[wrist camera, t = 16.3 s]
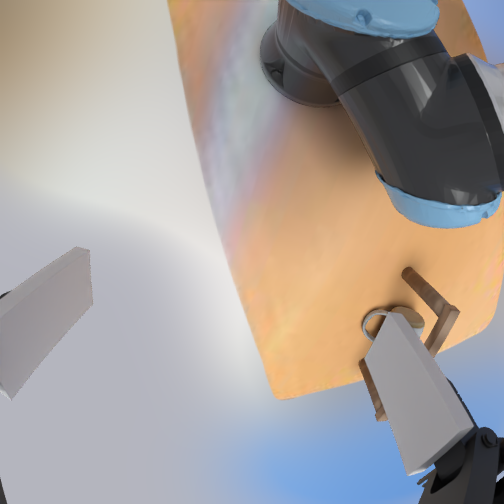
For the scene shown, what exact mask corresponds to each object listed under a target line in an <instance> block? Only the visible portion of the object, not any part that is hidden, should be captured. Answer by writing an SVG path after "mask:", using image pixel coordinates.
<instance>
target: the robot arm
mask: <svg viewBox="0 0 504 504" xmlns="http://www.w3.org/2000/svg"><path fill="white" fill-rule="evenodd" d="M437 4H438V0H279V3H278V14H277V21H276V22H274V23H273V24H272V25H271V26H270V27H269V28H268V30H267V31H266V33H265V35H264V37H263V39H262V42H261V47H260V60H261V65H262V69H263V71H264V74H265V76H266V77H267V79H268V81H269V82H270V83H271V84H272V86H273V87H274V88H275V89H276V90H277V91H279V92H280V93H281V94H282V95H284V96H285V97H287V98H289V99H291V100H293V101H295V102H297V103H300V104H303V105H307V106H312V107H330V106H335V105H338V104H342V106H343V107H344V109H345V111H346V112H347V114H348V116H349V118H350V120H351V121H352V123H353V125H354V127H355V129H356V131H357V132H358V134H359V136H360V138H361V140H362V142H363V144H364V146H365V148H366V150H367V152H368V154H369V156H370V158H371V160H372V163H373V165H374V167H375V173H376V175H377V177H378V179H379V180H380V182H381V183H382V184H383V185H384V187H385V189H386V191H387V193H388V195H389V197H390V199H391V202H392V204H393V205H394V207H395V208H396V210H397V211H398V212H399V213H401V214H403V215H404V216H405V217H406V218H407V219H409V220H410V221H412V222H415V223H417V224H420V225H423V226H428V227H433V228H461V227H466V226H471V225H474V224H477V223H479V222H480V221H481V218H489V217H490V216H492V215H493V214H494V213H495V212H496V210H497V209H498V207H499V204H500V199H501V197H502V191H504V63H501V64H497V65H492V64H488V63H487V62H485V61H483V60H481V59H480V58H478V57H476V56H474V55H472V54H470V53H465V54H462V55H459V56H456V57H450V55H449V54H448V52H447V51H446V49H445V47H444V46H443V44H442V42H441V41H440V39H439V38H438V36H437V34H436V33H435V31H434V30H433V29H434V28H435V25H437V21H438V19H439V14H440V11H439V8H438V7H437V6H436V5H437ZM92 305H93V298H92V286H91V271H90V251H89V250H87V249H84V248H80V247H75V248H73V249H72V250H70V251H69V252H67V253H66V254H64V255H62V256H61V257H59V258H58V259H56V260H55V261H53V262H52V263H50V264H49V265H47V266H46V267H44V268H43V269H41V270H40V271H38V272H37V273H35V274H34V275H33V276H31V277H30V278H28V279H27V280H26V281H24V282H23V283H21V284H20V285H19V286H18V287H16V288H15V289H13V290H11V291H9V292H7V293H4V294H2V295H1V296H0V392H1V393H2V394H3V395H5V396H6V397H8V398H9V399H10V400H12V399H13V398H14V397H15V395H16V394H17V393H18V391H19V390H20V389H21V387H22V386H23V385H24V383H25V382H26V381H27V380H28V378H29V377H30V376H31V374H32V373H33V372H34V370H35V369H36V368H37V367H38V366H39V364H40V363H41V362H42V361H43V360H44V358H45V357H46V356H47V355H48V354H49V352H50V351H51V350H52V349H53V348H54V347H55V346H56V344H57V343H58V342H59V341H60V340H61V339H62V337H63V336H64V335H65V334H66V333H67V332H68V331H69V330H70V328H71V327H72V326H73V325H74V324H75V323H76V322H77V321H78V320H79V318H81V316H82V315H83V314H84V313H85V312H86V311H87V310H88V309H89V308H90V307H91V306H92ZM364 359H365V362H366V364H367V367H368V369H369V371H370V374H371V376H372V379H373V381H374V384H375V386H376V389H377V391H378V394H379V397H380V399H381V402H382V404H383V407H384V410H385V412H386V415H387V418H388V420H389V423H390V426H391V429H392V431H393V434H394V437H395V440H396V443H397V446H398V449H399V452H400V455H401V458H402V461H403V464H404V467H405V470H406V473H407V476H409V475H413V474H417V473H420V472H423V471H424V470H426V469H427V468H428V467H429V466H431V465H432V464H433V463H434V465H435V467H436V468H435V469H434V470H432V471H431V472H430V473H428V474H427V475H426V476H424V477H423V478H422V479H420V480H419V482H418V483H417V484H418V485H420V484H421V483H422V482H424V481H425V480H427V479H428V481H427V482H426V483H425V484H423V485H422V487H424V488H425V489H424V491H423V494H422V496H421V498H420V501H419V503H418V504H504V477H503V478H501V479H500V480H499V481H498V482H496V478H497V475H499V474H500V473H501V472H502V471H503V470H504V438H498V437H497V435H496V434H495V433H494V431H493V430H491V429H490V428H487V427H482V428H480V429H479V428H478V426H477V425H476V423H475V421H474V419H473V417H472V416H471V414H470V412H469V410H468V409H467V407H466V405H465V403H464V402H463V401H462V398H461V397H460V395H459V394H457V393H458V392H457V390H456V388H455V387H454V385H453V384H452V383H451V381H449V380H448V379H447V378H446V377H445V376H444V374H443V373H442V371H441V370H440V368H439V366H438V365H437V363H436V362H435V360H434V359H433V357H432V356H431V354H430V353H429V351H428V350H427V348H426V347H425V345H424V344H423V343H422V341H421V340H420V338H419V337H418V335H417V334H416V333H415V331H414V330H413V328H412V327H411V326H410V324H409V323H408V321H407V320H406V319H405V317H404V316H403V315H402V314H400V313H393V312H388V314H387V316H386V318H385V321H384V323H383V325H382V327H381V329H380V331H379V332H378V334H377V336H376V338H375V340H374V342H373V344H372V346H371V348H370V349H369V351H368V353H367V355H366V357H365V358H364ZM0 504H7V502H6V498H5V495H4V491H3V487H2V483H1V479H0Z"/></svg>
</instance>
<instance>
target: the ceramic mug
mask: <svg viewBox="0 0 504 504" xmlns="http://www.w3.org/2000/svg"><path fill="white" fill-rule="evenodd" d="M390 312H393V313H400V314H402V315H403V316H404V317H405V319H406V320H407V321H408V323H409V324H410V326H411V327H412V328H413V330H414V331H415V333H416V334H417V335H418V337H419V338H420V336H421V334H422V332H423V328H424V324H425V322H424V319H423V317H422V316H421V315H420V314H419V313H417V312H416V311H414V310H412V309H410V308H406V307H395V308H393V309H392V310H391V311H390ZM379 314H380V315H385V316H387V314H388V311H385V310H374V311H372V312H370V313H369V314H368V315H367V316H366V318H365V319H364V322H363V327H362V328H363V333H364V335H365V336H366V337H367V338H368V339H369V340H370V341H372V342H374V340H375V338H374V337H373V336H371V335H370V334H369V333H368V332H367V331H366V329H365V326H366V324H367V322H368V320H370V319H371V318H372V317H373V316H374V315H379Z"/></svg>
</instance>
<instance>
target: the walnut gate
mask: <svg viewBox="0 0 504 504" xmlns="http://www.w3.org/2000/svg"><path fill="white" fill-rule="evenodd" d="M402 278H403V279H404V280H405V281H406V282H407V283H408V284H409V285H410V286H411V288H412V289H413V290H414V291H415V292H416V293H417V294H418V295H419V296H420V297H421V298H422V299H423V300H424V301H425V303H426V304H427V305H428V306H429V307H430V308H431V309H432V310H433V311H434V313H435V314H436V315H437V316H438V317H439V318H438V320H437V322H436V324H435V326H434V328H433V329H432V331H431V333H430V335H429V336H428V338H427V340H426V342H425V343H424V345H425V347H426V348H427V350H428V351H429V353H430V354H431V356H432V357H433V358H434V357H435V355H436V354H437V352H438V351H439V349H440V347H441V346H442V344H443V342H444V341H445V339H446V337H447V335H448V334H449V332H450V330H451V328H452V327H453V325H454V323H455V321H456V319H457V317H458V315H459V313H460V311H459V310H458V309H457V308H456V307H455V306H453V305H450V304H449V303H448V302H447V301H446V300H445V299H444V298H443V297H442V296H441V295H440V294H439V293H438V292H437V291H436V290H435V289H434V288H433V287H432V286H431V285H430V284H429V283H428V282H426V281H425V280H424V279H423V278H422V277H421V276H420V275H419V274H418V273H417V272H416V271H414V270H413V269H412V268H411V267H407V268H405V269H404V270H403V272H402ZM359 367H360V369H361V372H362V375H363V377H364V380H365V383H366V385H367V388H368V391H369V393H370V396H371V399H372V402H373V405H374V407H375V410H376V414H375V416H376V419H377V421H386V420H388V418H387V415H386V412H385V410H384V407H383V404H382V402H381V399H380V397H379V394H378V391H377V389H376V386H375V384H374V381H373V379H372V376H371V374H370V371H369V369H368V367H367V364H366V362H365V359H362V360H361V361H360V362H359Z"/></svg>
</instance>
